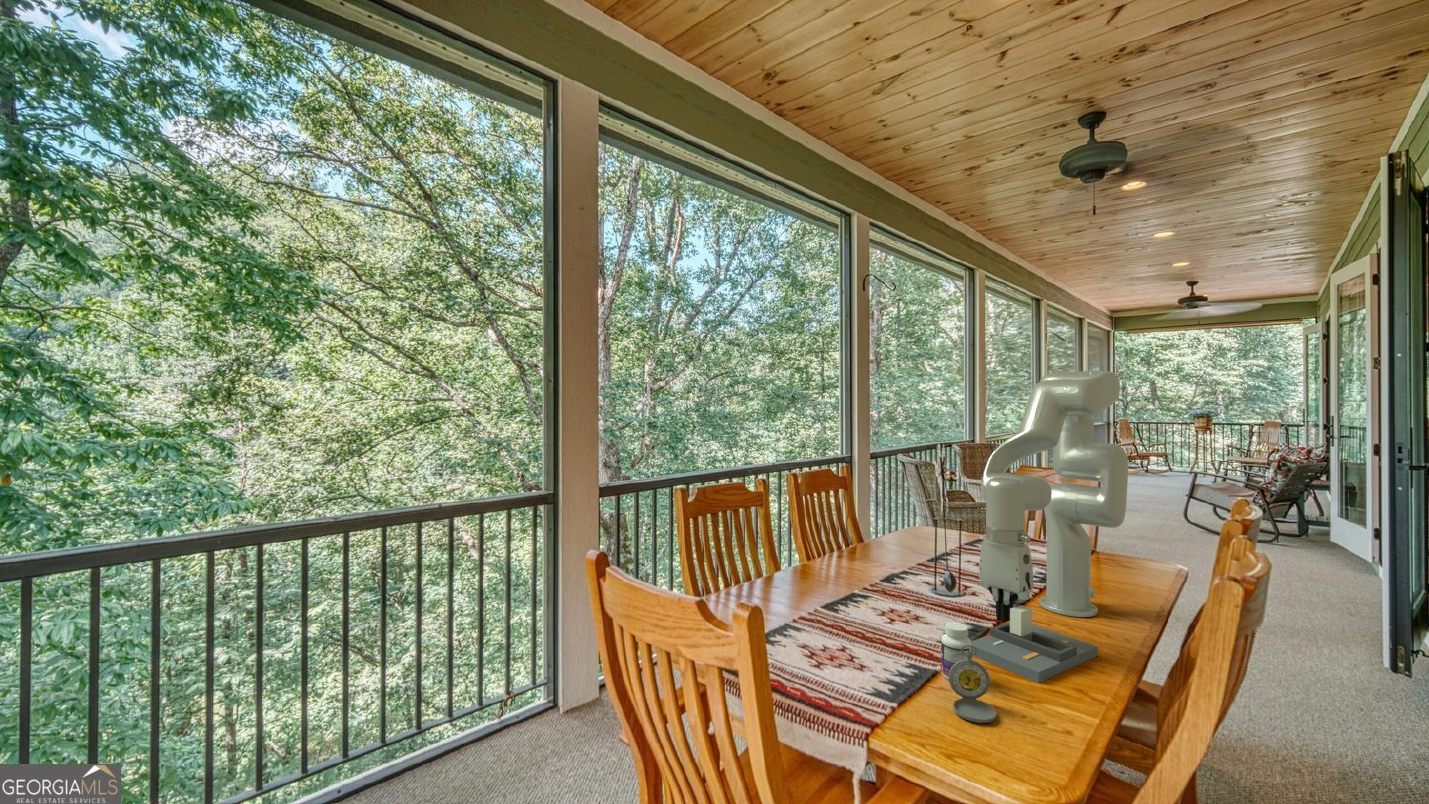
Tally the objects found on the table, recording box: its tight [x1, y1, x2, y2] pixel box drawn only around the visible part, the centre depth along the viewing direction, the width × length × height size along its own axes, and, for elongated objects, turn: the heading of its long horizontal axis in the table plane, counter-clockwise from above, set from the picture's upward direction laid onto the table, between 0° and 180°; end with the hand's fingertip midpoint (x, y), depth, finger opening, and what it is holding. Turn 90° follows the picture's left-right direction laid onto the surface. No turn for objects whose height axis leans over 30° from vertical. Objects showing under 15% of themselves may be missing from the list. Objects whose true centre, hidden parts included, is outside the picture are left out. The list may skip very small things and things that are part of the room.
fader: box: [1009, 604, 1033, 641], centre depth 121 cm, size 4×3×7 cm
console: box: [971, 622, 1099, 684], centre depth 119 cm, size 22×15×4 cm
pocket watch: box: [948, 645, 997, 724], centre depth 97 cm, size 8×8×10 cm
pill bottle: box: [940, 621, 973, 683], centre depth 109 cm, size 5×5×10 cm
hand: (1004, 620), depth 124 cm, fingers closed
